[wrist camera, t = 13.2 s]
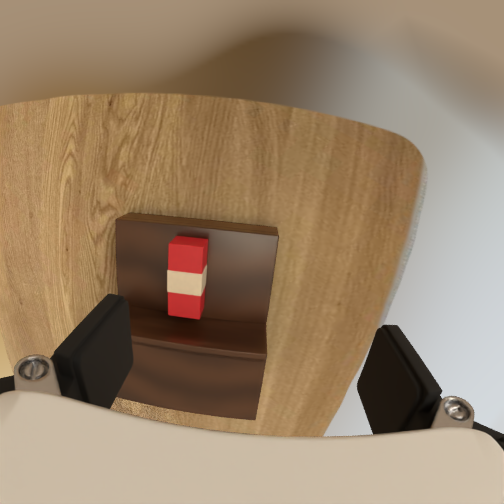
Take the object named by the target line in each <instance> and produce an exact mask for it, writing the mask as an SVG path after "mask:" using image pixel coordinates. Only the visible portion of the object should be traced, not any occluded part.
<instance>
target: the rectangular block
mask: <svg viewBox="0 0 504 504" xmlns="http://www.w3.org/2000/svg"><path fill="white" fill-rule="evenodd" d="M207 251H208V239H202V238H193V237H184V236H176V237H175V238H174V239H173V240H172V241H171V242H170V243H169V248H168V270H167V292H168V315H171V316H178V317H185V318H192V319H200V317H201V314H202V311H203V309H204V301H205V285H206V275H207Z"/></svg>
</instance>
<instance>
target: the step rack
mask: <svg viewBox="0 0 504 504" xmlns="http://www.w3.org/2000/svg"><path fill="white" fill-rule="evenodd" d="M176 236H184V237H193V238H202V239H208V251H207V275H206V285H205V301H204V309H203V311H202V314H201V317H200V319H192V318H185V317H178V316H171V315H168V292H167V270H168V248H169V243H170V242H171V241H172V240H173V239H174V238H175V237H176ZM278 239H279V235H278V231H277V228H276V227H268V226H260V225H251V224H241V223H232V222H223V221H213V220H203V219H193V218H183V217H173V216H162V215H151V214H139V213H128V214H125V215H123V216H121V217H119V218H117V219H116V264H117V283H118V295H121V296H123V297H124V299H125V300H127V301H128V303H129V315H130V328H131V339H132V349H133V358H134V360H133V366H132V368H131V370H130V372H129V374H128V375H127V377H126V379H125V381H124V383H123V385H122V387H121V389H120V390H119V392H118V394H117V396H116V397H119V398H122V399H126V400H131V401H135V402H139V403H143V404H148V405H153V406H158V407H163V408H168V409H173V410H179V411H184V412H190V413H197V414H204V415H211V416H218V417H227V418H236V419H246V420H255V419H256V414H257V409H258V403H259V398H260V392H261V387H262V381H263V375H264V370H265V364H266V358H267V337H266V322H267V315H268V309H269V302H270V295H271V288H272V281H273V274H274V267H275V260H276V253H277V246H278Z"/></svg>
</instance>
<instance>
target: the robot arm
mask: <svg viewBox="0 0 504 504" xmlns="http://www.w3.org/2000/svg"><path fill="white" fill-rule="evenodd" d="M133 360H134V358H133V349H132V339H131V328H130V315H129V303H128V301H127V300H125V299H124V297H123V296H121V295H115V294H107V296H106V297H105V298H104V299H103V300H102V301H101V302H100V303H99V304H98V305H97V306H96V307H95V308H94V309H93V310H92V311H91V312H90V313H89V314H88V315H87V316H86V317H85V318H84V320H83V321H82V322H81V323H80V324H79V325H78V326H77V327H76V328H75V329H74V330H73V331H72V332H71V334H70V335H69V336H68V337H67V338H66V339H65V340H64V341H63V342H62V343H61V345H60V346H59V347H58V348H57V349H56V350H55V351H54V354H53V355H52V357H51V358H50V359H49V358H48V357H46V356H44V355H38V354H37V355H29V356H26V357H24V358H22V359H21V360H19V361H18V362H17V364H16V365H15V367H14V375H13V376H9V377H4V378H0V504H504V434H502V433H500V432H497V431H495V430H492V429H490V428H488V427H486V426H484V425H481V424H479V423H477V422H474V410H473V408H472V406H471V405H470V404H469V403H468V402H467V401H466V400H464V399H462V398H459V397H456V396H448V397H445V398H443V399H442V398H441V396H440V394H441V393H442V389H441V388H440V387H439V385H438V383H437V382H436V380H435V379H434V377H433V376H432V374H431V373H430V371H429V370H428V368H427V367H426V365H425V364H424V362H423V361H422V359H421V358H420V356H419V355H418V354H417V352H416V351H415V349H414V348H413V346H412V345H411V344H410V342H409V341H408V339H407V338H406V336H405V335H404V334H403V332H402V331H401V329H400V328H399V327H398V326H397V325H383V326H382V327H381V328H379V329H377V331H376V334H375V337H374V340H373V343H372V345H371V348H370V351H369V354H368V357H367V359H366V362H365V365H364V367H363V370H362V372H361V375H360V377H359V380H358V383H357V390H358V393H359V396H360V399H361V401H362V404H363V407H364V410H365V413H366V415H367V418H368V421H369V424H370V427H371V430H372V432H373V435H358V436H332V437H301V436H273V435H258V434H245V433H235V432H226V431H218V430H210V429H203V428H196V427H190V426H184V425H178V424H172V423H167V422H162V421H157V420H152V419H148V418H143V417H139V416H135V415H131V414H127V413H123V412H119V411H115V410H111V409H110V408H111V406H112V404H113V402H114V400H115V398H116V396H117V394H118V392H119V390H120V389H121V387H122V385H123V383H124V381H125V379H126V377H127V375H128V374H129V372H130V370H131V368H132V366H133Z"/></svg>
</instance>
